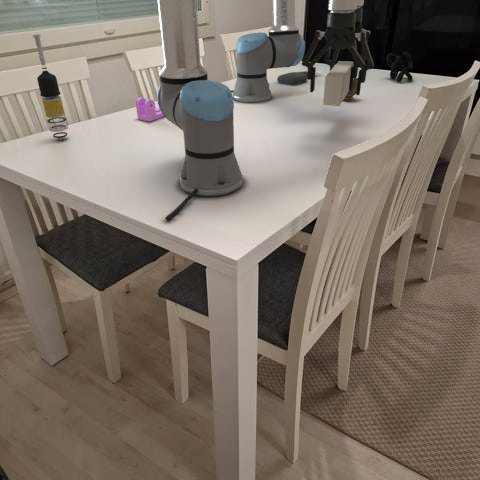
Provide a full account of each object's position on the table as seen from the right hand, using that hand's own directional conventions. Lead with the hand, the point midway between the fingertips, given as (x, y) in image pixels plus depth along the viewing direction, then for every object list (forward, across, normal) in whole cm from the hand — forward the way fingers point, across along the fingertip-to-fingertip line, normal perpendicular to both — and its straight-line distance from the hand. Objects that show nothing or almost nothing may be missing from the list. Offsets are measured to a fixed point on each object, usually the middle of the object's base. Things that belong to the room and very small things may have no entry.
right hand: (341, 87), depth 144 cm
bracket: (+11, +63, +11) cm, 65 cm away
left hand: (-2, 0, +16) cm, 16 cm away
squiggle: (+11, -16, -69) cm, 72 cm away
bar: (+1, 0, +8) cm, 8 cm away
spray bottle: (+11, +27, -59) cm, 66 cm away
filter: (+11, +80, +42) cm, 91 cm away
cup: (+11, +1, -29) cm, 31 cm away
